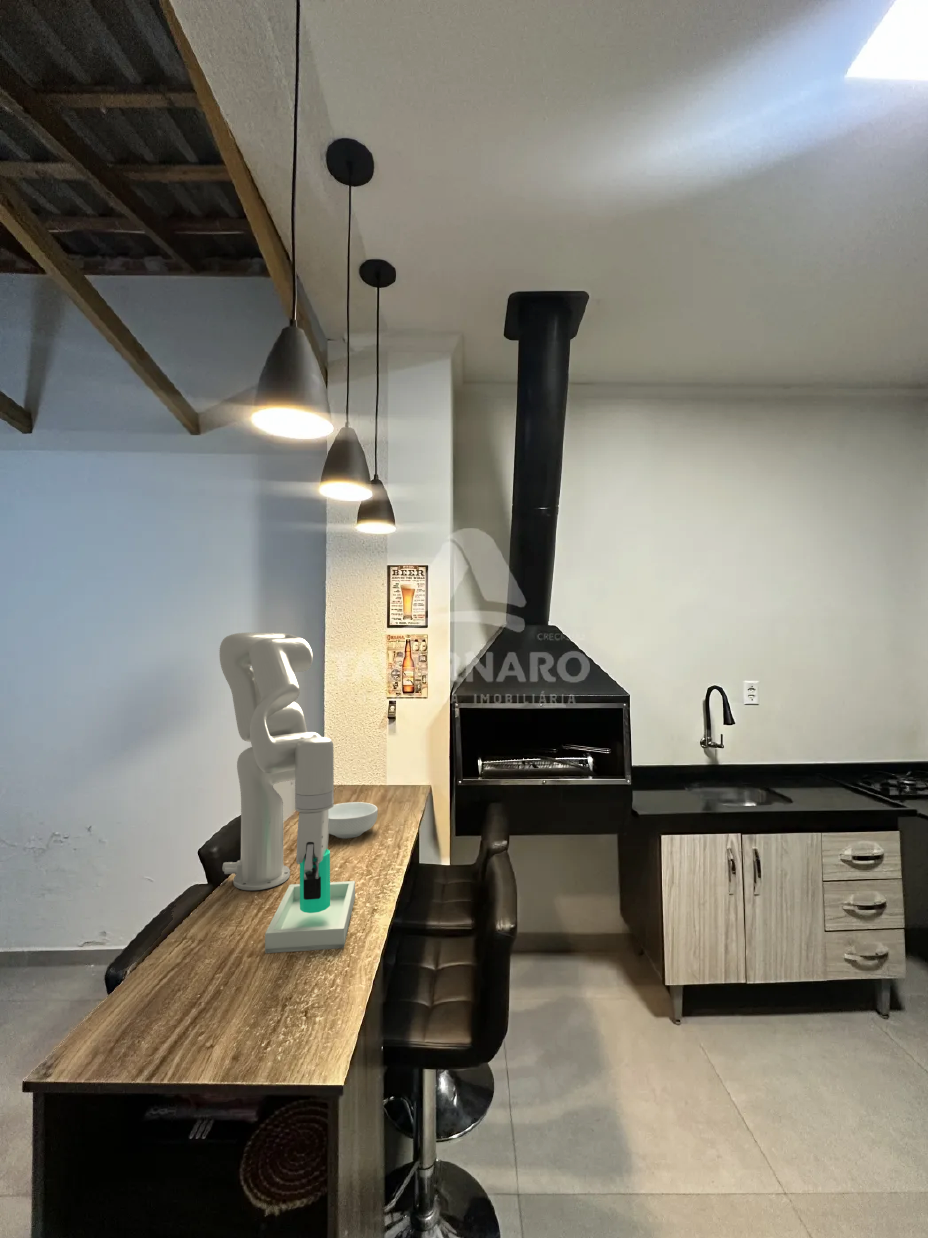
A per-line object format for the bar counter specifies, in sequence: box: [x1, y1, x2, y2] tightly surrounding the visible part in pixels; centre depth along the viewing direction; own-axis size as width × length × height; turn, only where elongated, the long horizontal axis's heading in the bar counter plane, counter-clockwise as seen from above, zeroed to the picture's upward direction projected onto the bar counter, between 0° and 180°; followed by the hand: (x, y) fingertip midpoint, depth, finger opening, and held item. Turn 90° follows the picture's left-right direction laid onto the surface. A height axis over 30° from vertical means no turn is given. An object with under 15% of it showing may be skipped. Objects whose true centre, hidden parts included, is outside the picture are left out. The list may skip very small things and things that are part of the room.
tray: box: [264, 880, 356, 954], centre depth 108 cm, size 14×20×4 cm
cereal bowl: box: [328, 801, 379, 839], centre depth 159 cm, size 17×17×7 cm
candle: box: [299, 848, 331, 913], centre depth 108 cm, size 6×6×12 cm
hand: (314, 891), depth 108 cm, fingers closed on candle, 4 cm apart
